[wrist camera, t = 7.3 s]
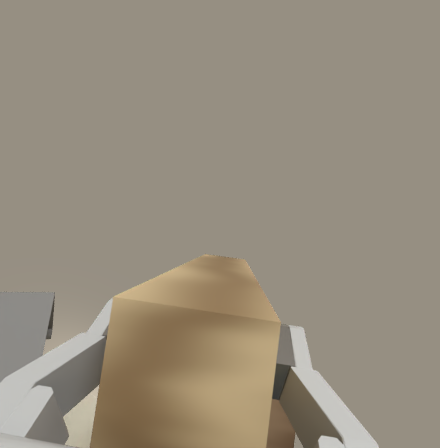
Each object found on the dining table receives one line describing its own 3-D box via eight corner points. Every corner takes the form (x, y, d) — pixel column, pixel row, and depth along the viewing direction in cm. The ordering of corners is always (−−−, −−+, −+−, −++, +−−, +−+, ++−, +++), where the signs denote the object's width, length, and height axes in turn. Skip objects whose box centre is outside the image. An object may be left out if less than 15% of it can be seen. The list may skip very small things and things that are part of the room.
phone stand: (-25, 397, 44) (-5, 278, 44) (43, 388, 48) (59, 279, 49) (-89, 505, 27) (-57, 313, 28) (22, 477, 32) (47, 311, 32)
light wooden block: (86, 470, 6) (113, 296, 6) (199, 294, 26) (205, 254, 26) (259, 505, 6) (281, 322, 6) (239, 300, 26) (244, 259, 26)
